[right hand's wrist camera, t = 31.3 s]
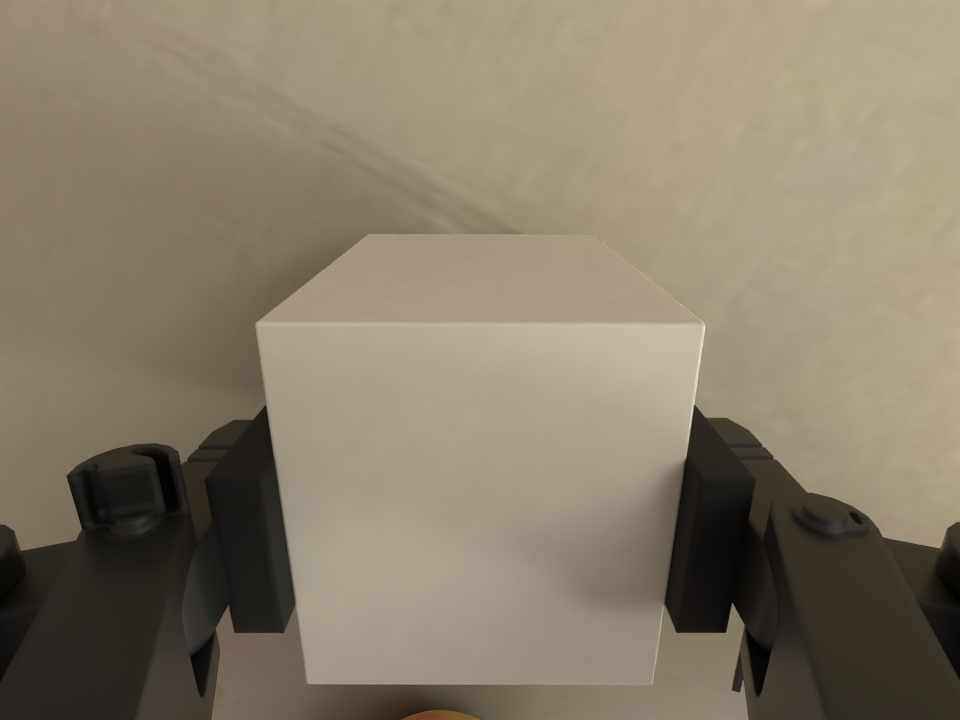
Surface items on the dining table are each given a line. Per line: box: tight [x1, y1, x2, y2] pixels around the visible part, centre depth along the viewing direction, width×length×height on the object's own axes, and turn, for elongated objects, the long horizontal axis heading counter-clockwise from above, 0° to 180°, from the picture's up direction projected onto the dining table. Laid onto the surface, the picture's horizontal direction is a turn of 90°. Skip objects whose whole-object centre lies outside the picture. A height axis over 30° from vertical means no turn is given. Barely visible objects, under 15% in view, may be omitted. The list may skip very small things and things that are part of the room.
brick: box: [255, 234, 705, 685], centre depth 12 cm, size 6×6×8 cm
